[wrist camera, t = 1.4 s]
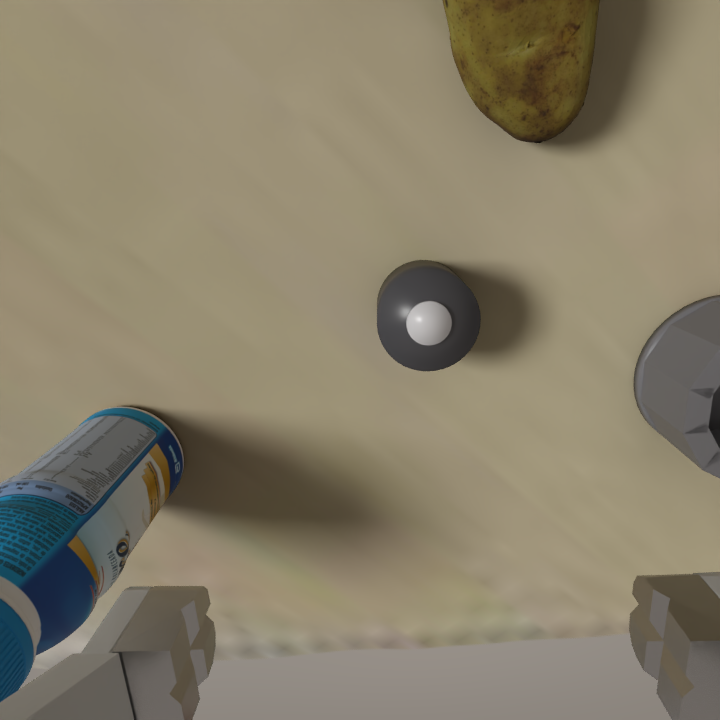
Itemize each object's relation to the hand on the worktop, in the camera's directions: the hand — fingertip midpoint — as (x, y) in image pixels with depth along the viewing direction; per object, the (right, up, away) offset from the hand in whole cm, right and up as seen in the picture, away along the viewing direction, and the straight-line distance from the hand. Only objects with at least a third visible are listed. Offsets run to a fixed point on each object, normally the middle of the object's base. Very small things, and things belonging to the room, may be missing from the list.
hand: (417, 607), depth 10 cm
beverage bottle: (-18, -2, +29) cm, 35 cm away
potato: (+7, +24, +20) cm, 32 cm away
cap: (+3, +8, +25) cm, 27 cm away
